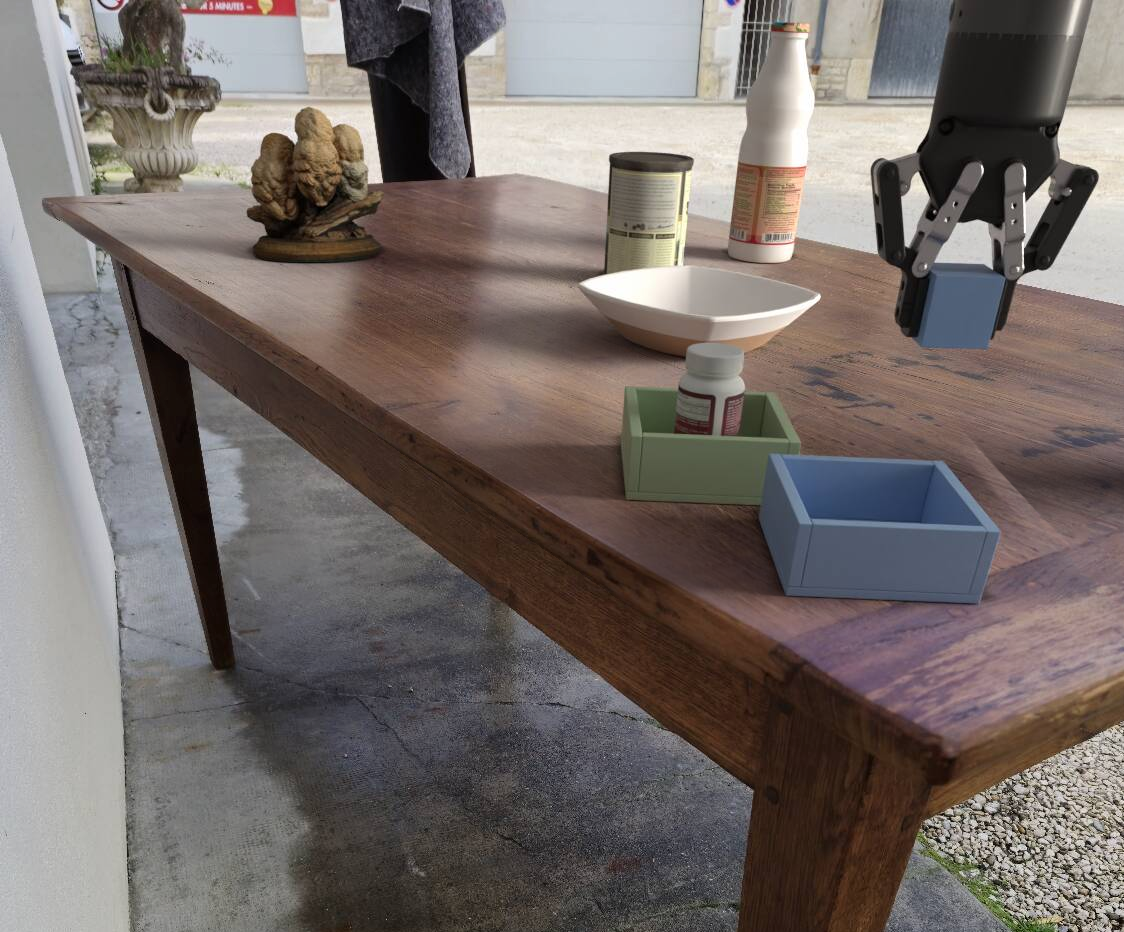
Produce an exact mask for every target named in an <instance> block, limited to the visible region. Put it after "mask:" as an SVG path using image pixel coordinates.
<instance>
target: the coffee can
mask: <svg viewBox="0 0 1124 932" xmlns="http://www.w3.org/2000/svg"><path fill="white" fill-rule="evenodd" d="M608 162H609V169H608V171H609V174H608V189H607V190H608V192H607V211H606V212H607V213H606V230H605V232H606V233H605V247H604V248H605V250H604V265H603V267H604V269H603V275H606V274H611V273H616V272H621V271H628V270H635V269H643V268H652V267H662V266H680V265H684V259H685V257H684V256H685V246H686V235H687V225H688V214H689V204H690V193H691V182H692V170H693V166H694V163H695V159H694V158H693V157H692V156H688V155H686V154H685V155H684V154H679V153H671V152H655V151H619V152H614V153H611V154H609V156H608Z"/></svg>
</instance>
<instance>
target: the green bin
mask: <svg viewBox="0 0 1124 932" xmlns="http://www.w3.org/2000/svg"><path fill="white" fill-rule="evenodd" d="M623 394H624V395H623V408H622V421H621V422H622V423H621V434H620V436H621V437H620V447H621V448H620V450H621V461H622V471H623V480H624V481H623V482H624V491H625V500H627V501H643V502H644V501H645V502H647V501H648V502H667V503H669V502H671V503H691V504H692V503H696V504H719V505H722V504H723V505H738V506H739V505H740V506H741V505H742V506H761V500H762V494H763V487H764V481H765V474H766V468H767V462H768V455H769V454H780V455H781V454H789V455H800V453H801V447H802V442H801V440H800V437H799V436H798V434H797V432H796V430H795V428H794V426H793V424H792V422H791V420H790V419H789V416H788V415H787V413H786V410H785V408H784V407H783V405H782V403H781V401H780V399H779V396H778V395H777V393H776V392H775V391H751V390H750V391H748V390H745V392H744V398H743V405H742V413H741V421H740V429H739V435H738V437H737V436H714V435H690V434H674V427H675V417H676V406H677V396H678V387H659V386H658V387H657V386H656V387H655V386H635V385H634V386H632V385H625V386H624V393H623Z"/></svg>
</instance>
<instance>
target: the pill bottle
mask: <svg viewBox="0 0 1124 932" xmlns="http://www.w3.org/2000/svg"><path fill="white" fill-rule="evenodd" d="M744 361H745V353H744V351H743V350H742V349H741V348H739V347H736V346H734V345H729V344H723V343H698V344H693V345H691V346H689V347H688V348H687V355H686V357H685V371H687V372H684V373H683V374H682V375H681V377H680V379H679V380H678V385H677V386H678V387H677V388H678V396H677V406H676V417H675V427H674V434H690V435H714V436H737V437H738V435H739V429H740V421H741V413H742V405H743V398H744V392H745V391H746V387H745V382H744V380H743V378H742V377H741V376H740V375H741V374H742V372H743V369H744Z"/></svg>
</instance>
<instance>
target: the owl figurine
mask: <svg viewBox="0 0 1124 932" xmlns="http://www.w3.org/2000/svg"><path fill="white" fill-rule="evenodd" d="M293 129H294V133H295V134H296V136H297V138H296V140H297V141H296V142H295V143H294V141H293V140H291V138H290V137H288V135H285V134H283V133H280V132H270V133H268V134H266V135H265V136H263V138H262V141H261V144H260V151H259V153H260V155H259V156H258V158H256V159H255V160H254V162H253V165H252V166H251V167H250V172H251V178H250V182H251V185H252V187H251V193H252V194H251V195H252V197H253V198H254V200H255V201H256V202H257V203H258V204H256V205H252V206H251V207H247V209H246V216H247V218H248V219H249V220H251V221H253V222H254V223H260V224H262V225H263V227H264V231H265V234H266V235H261V236H260V237H258V240H257V242H256V243H255V244H253V246H252V253H253V256H255V257H256V258H258V259H261V260H264V261H271V262H285V263H333V262H335V263H336V262H344V261H345V262H349V261H357V260H358V261H359V260H363V259H364V260H365V259H368V258H373V257H375V256H376V255H378V254H381V252H382V244H381V243H380V242H379V241H378V240H377V239H376V238H375V237H374V235H372V234H369V233H368V232H367V231H366V228H365V226H364V227H363V226H360V225H358V224H357V223H355V221H354V220H357V219H360V218H362V217H365V216H368V215H369V216H370V215H376V213H377V212H378V211H379V208H380V207H379V205H380V204H381V203H382V201H383V199H384V196H385V192H383V191H381V190H374V191H373V190H370V191H369V190H368V184H369V167H368V165H366V163H365V150H364V145H363V142H362V138H361V135H360V133H359V130H358V129H356V128H355V127H353V126H352V125H349V124H345V123H339V124H337V125H335V126H332V122H331V120H330V119H329V118H328V117H327V115H326V114H325V113H324V112H322V110H319V109H318V108H314V107H311V106H306V107H304V108H301V109H300V110H299V111H298V112H297V113H296V115H295V117H294V126H293Z"/></svg>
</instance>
